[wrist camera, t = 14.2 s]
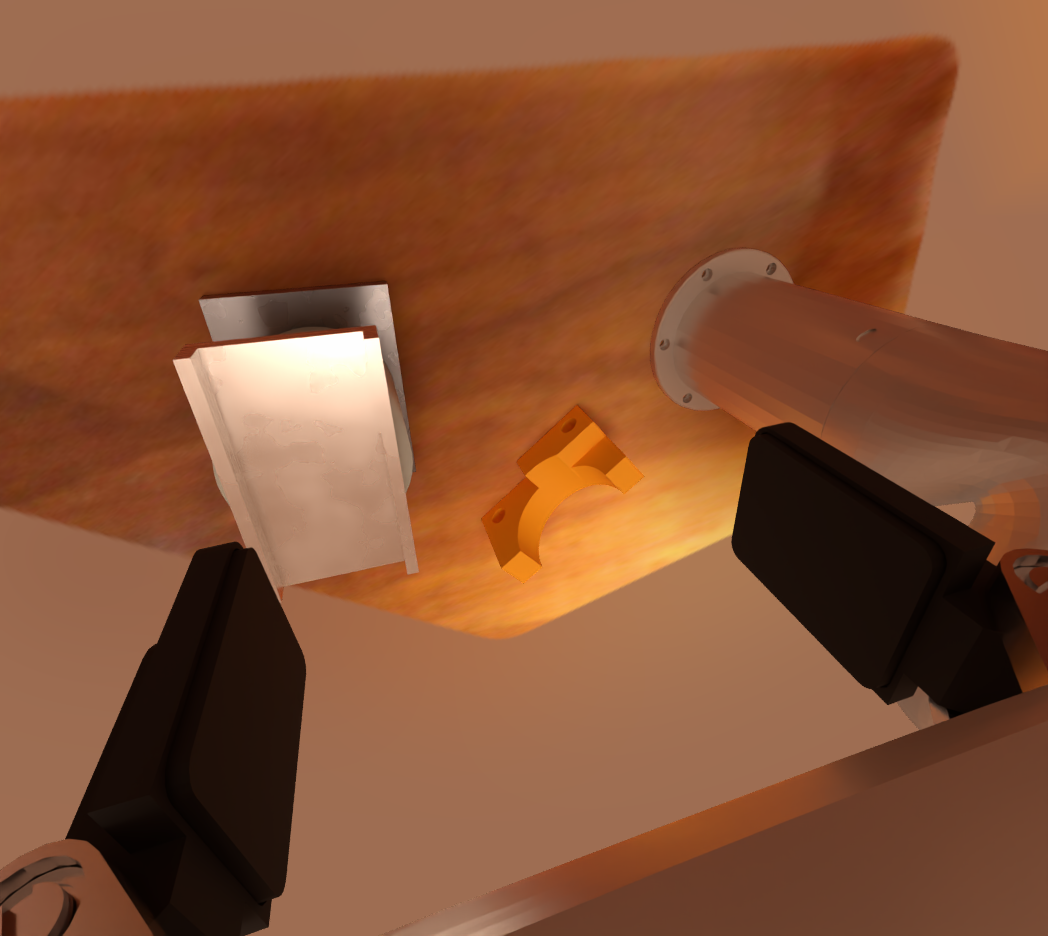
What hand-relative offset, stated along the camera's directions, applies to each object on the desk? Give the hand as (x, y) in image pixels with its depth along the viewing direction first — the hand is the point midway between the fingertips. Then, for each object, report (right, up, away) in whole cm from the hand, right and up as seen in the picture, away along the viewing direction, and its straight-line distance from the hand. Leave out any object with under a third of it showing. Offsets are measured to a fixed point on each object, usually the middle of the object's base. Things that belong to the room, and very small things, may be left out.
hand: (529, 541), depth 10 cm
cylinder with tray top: (-13, +6, +23) cm, 28 cm away
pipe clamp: (+1, +1, +32) cm, 32 cm away
